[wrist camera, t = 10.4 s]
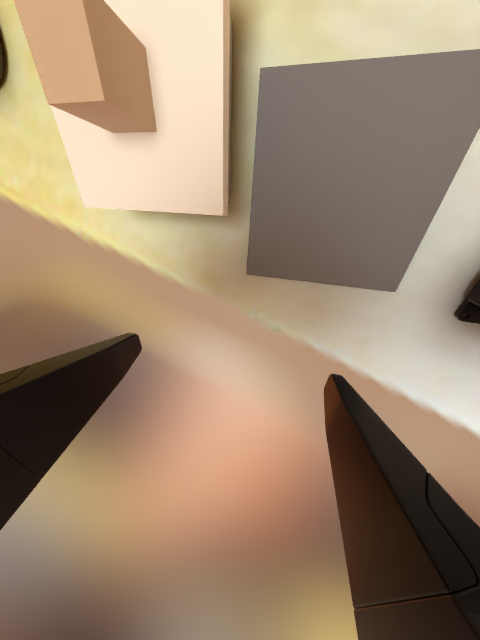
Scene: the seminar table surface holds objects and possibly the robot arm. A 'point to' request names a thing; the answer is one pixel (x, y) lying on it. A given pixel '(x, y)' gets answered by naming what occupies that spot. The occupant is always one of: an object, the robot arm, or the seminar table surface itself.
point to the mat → (356, 163)
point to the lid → (138, 98)
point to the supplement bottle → (1, 61)
